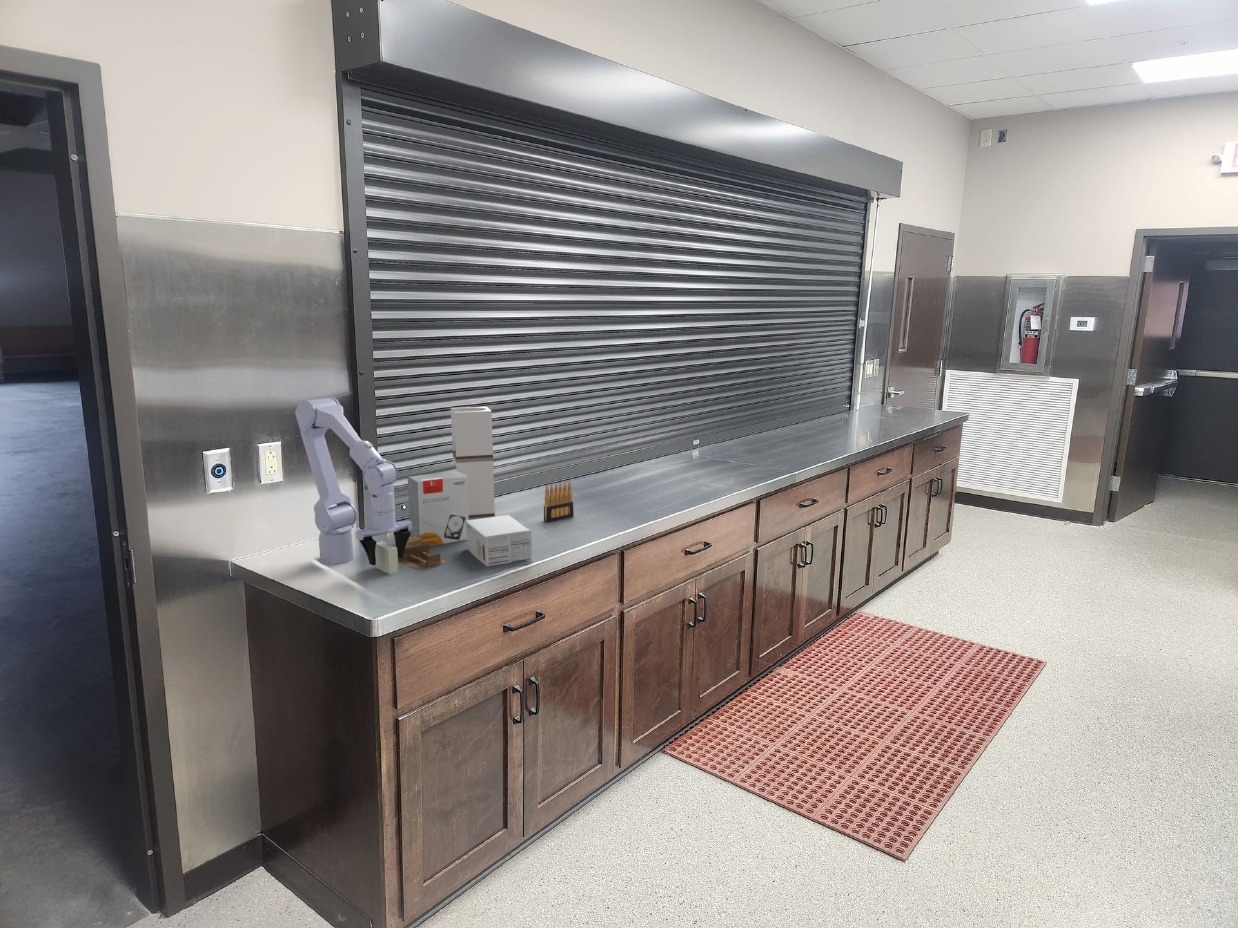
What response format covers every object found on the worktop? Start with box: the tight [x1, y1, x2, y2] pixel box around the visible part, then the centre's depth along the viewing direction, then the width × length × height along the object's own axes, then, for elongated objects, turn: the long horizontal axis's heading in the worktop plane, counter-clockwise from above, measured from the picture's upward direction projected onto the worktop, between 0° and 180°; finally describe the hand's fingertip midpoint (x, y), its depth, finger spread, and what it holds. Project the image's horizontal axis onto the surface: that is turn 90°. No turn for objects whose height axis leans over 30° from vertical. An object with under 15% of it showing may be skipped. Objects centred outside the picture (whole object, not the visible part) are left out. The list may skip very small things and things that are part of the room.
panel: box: [375, 540, 399, 575], centre depth 205 cm, size 8×2×7 cm, turn 44°
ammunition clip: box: [543, 480, 575, 523], centre depth 255 cm, size 11×2×12 cm, turn 131°
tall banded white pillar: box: [450, 406, 496, 520], centre depth 255 cm, size 11×11×35 cm
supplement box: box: [466, 514, 533, 567], centre depth 218 cm, size 17×13×9 cm
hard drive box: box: [407, 471, 469, 547], centre depth 229 cm, size 16×8×20 cm, turn 122°
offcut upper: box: [405, 536, 422, 548], centre depth 216 cm, size 3×6×2 cm, turn 137°
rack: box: [398, 543, 449, 571], centre depth 213 cm, size 15×9×4 cm, turn 43°
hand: (386, 560), depth 205 cm, fingers open, 7 cm apart
